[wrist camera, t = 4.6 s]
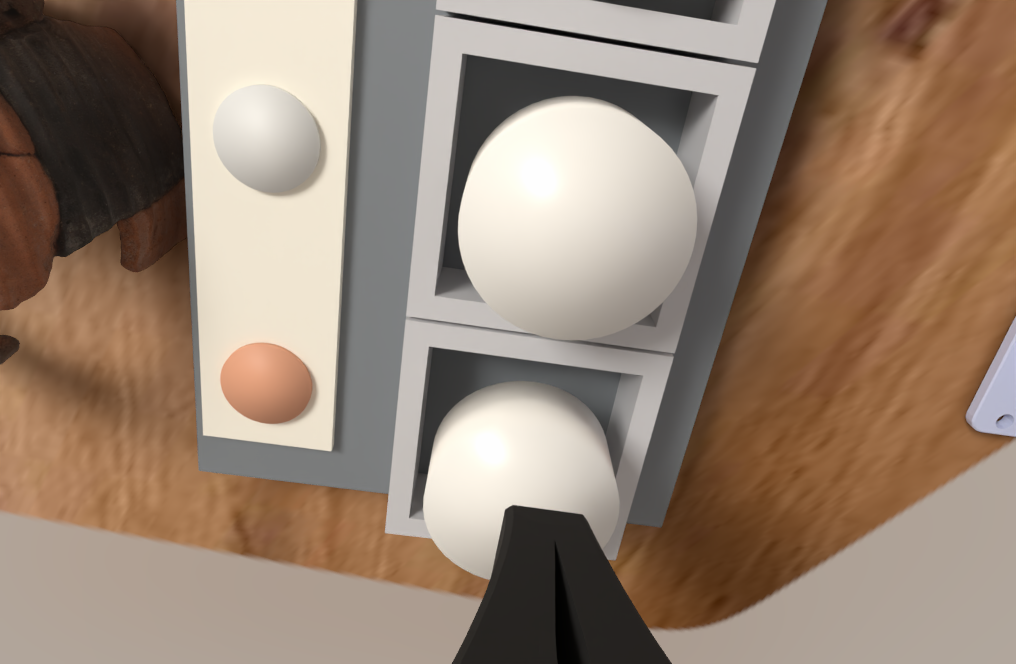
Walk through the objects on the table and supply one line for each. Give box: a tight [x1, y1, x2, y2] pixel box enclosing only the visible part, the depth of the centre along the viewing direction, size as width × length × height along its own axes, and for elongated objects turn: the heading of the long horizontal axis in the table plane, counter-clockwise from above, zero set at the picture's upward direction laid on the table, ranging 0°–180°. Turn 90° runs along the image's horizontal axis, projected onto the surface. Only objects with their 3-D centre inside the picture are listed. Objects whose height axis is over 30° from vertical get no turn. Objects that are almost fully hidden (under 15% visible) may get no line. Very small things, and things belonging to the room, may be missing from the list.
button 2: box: [423, 381, 620, 580], centre depth 16 cm, size 4×4×2 cm
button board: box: [176, 0, 828, 560], centre depth 16 cm, size 14×20×4 cm
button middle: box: [458, 96, 697, 340], centre depth 13 cm, size 4×4×2 cm
